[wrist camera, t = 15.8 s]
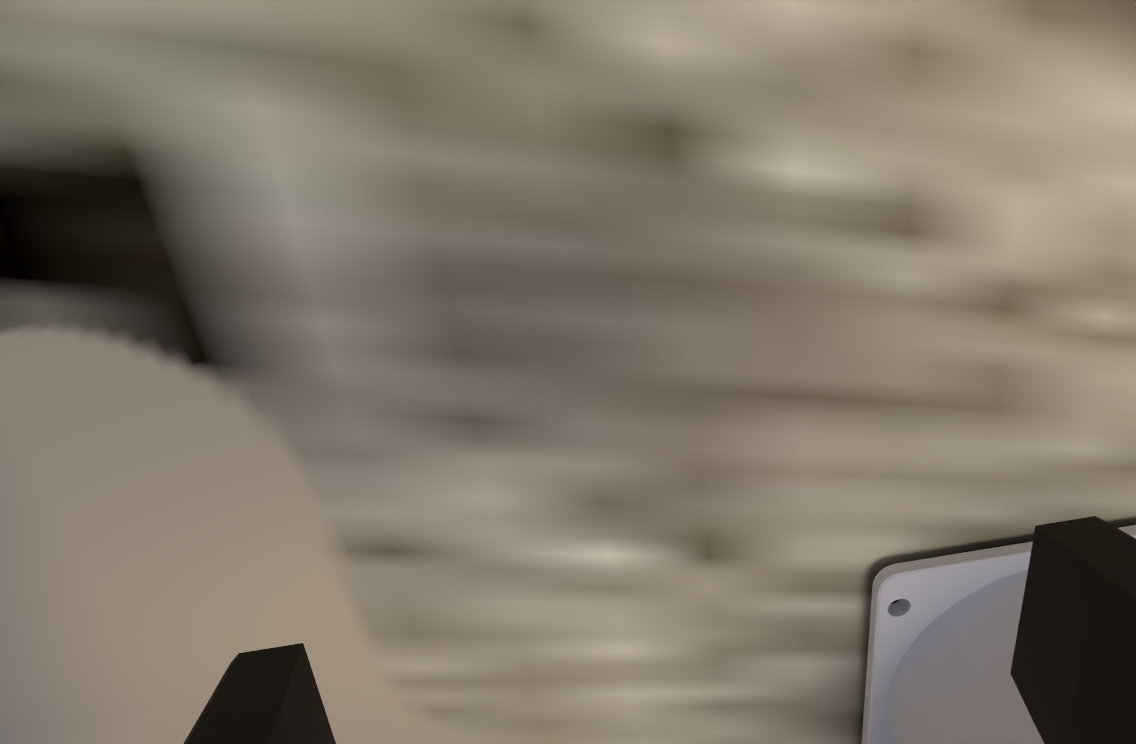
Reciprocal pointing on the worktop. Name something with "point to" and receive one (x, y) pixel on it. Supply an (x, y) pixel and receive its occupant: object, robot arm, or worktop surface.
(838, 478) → the worktop surface
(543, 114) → the worktop surface
